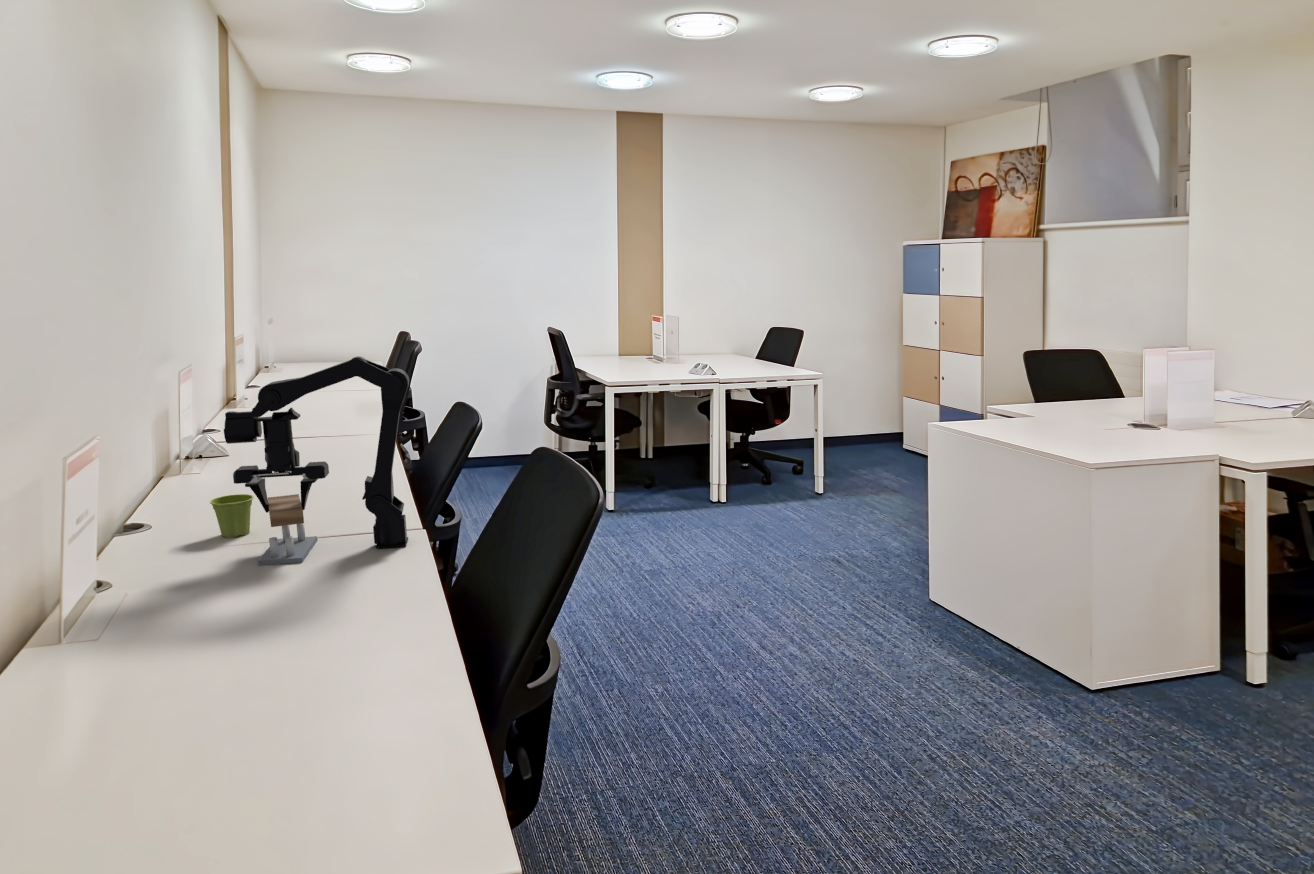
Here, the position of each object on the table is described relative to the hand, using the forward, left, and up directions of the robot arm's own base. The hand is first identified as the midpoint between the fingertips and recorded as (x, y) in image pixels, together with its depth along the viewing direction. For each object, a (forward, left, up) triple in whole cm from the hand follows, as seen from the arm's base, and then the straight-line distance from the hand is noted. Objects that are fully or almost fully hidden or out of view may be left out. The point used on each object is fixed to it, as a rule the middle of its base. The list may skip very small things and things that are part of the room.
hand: (285, 510), depth 207 cm
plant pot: (+16, -19, -10) cm, 27 cm away
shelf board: (0, 0, -1) cm, 1 cm away
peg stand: (0, 0, -9) cm, 9 cm away
